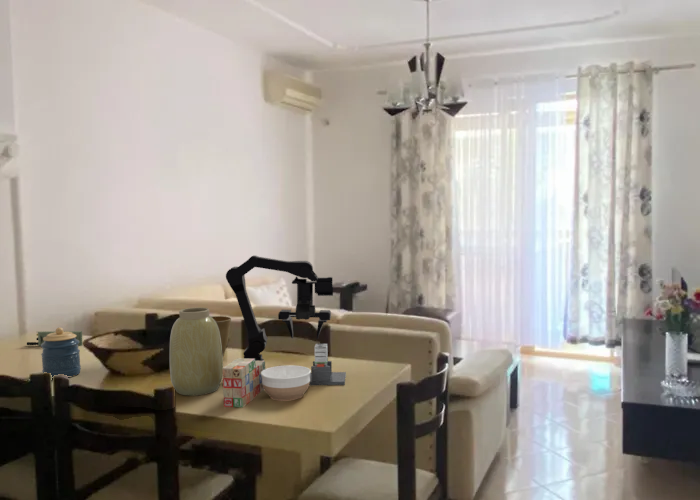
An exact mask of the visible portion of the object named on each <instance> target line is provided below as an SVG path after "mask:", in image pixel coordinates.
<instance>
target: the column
mask: <svg viewBox="0 0 700 500" xmlns="http://www.w3.org/2000/svg"><path fill="white" fill-rule="evenodd" d="M314 361H315V366H317V364H324V366H328V361H329V357H328V343H315V345H314Z"/></svg>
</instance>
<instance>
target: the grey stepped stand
mask: <svg viewBox="0 0 700 500" xmlns="http://www.w3.org/2000/svg"><path fill="white" fill-rule="evenodd" d="M332 364H333V363H332V360H328V366H324V364H317V366H315V360H313V361H312V366H311V365H310V370H311V373H310V383H309V386H345V385H346V379H345V378H346V377H347V372H346V371H343V372H342V371H337V372H336V371H332V368H333V367H332Z"/></svg>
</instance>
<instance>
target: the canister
mask: <svg viewBox="0 0 700 500" xmlns="http://www.w3.org/2000/svg"><path fill="white" fill-rule="evenodd" d="M55 331H56V332H55V333H50V334H48V335H47V336H46V337H44V338H43V340H44V343H42V344H41V346H40V347H41V349H42V352H41V362H42V363H41V364H42V365H41V366H42V371H41V372H43V373H44V372H47V373H51V375H52V377H53V376H54V375H58V374H64V375H67V376H72V377H74V376H73V375H76V376H77V374H78V375H80V374H81V369H82V366H81V359H80V348H79V346H78V344H79V341H78V340H77V339H76V338H75V337H76V336H77V335H75V334H73V333H72V332H63V331H64V328H63V327H57V328H56V329H55Z"/></svg>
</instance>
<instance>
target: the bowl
mask: <svg viewBox="0 0 700 500" xmlns="http://www.w3.org/2000/svg"><path fill="white" fill-rule="evenodd" d="M310 373H311V368H309V367H307V366H304V365H303V366H302V365H295V364H294V365H290V364H288V365H287V364H286V365H278V366H277V365H276V366H271V367H267V368H265V370H263V371H262V372H261V376H262V384H263V388H264V390H263V391H265V393H266V394H267V395H268V396H269V399H271V400H274V401H280V402H283V401H284V402H289V401H295V400H299V399H301V398H302V397H303V396H304V393H306V392H307V390H308V388H309V387H310V385H309V383H310Z"/></svg>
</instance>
